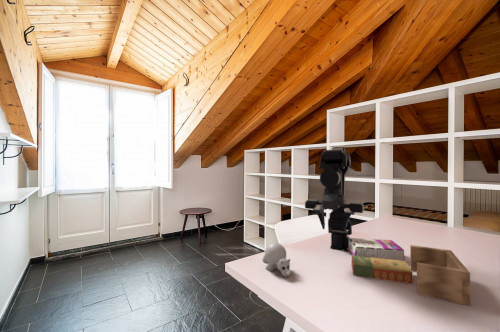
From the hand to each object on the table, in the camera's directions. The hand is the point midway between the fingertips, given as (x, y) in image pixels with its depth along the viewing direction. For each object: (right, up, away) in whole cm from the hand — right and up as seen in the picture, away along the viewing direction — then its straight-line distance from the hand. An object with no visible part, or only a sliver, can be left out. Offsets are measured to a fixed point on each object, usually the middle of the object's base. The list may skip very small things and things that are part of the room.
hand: (333, 230), depth 81 cm
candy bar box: (+27, -10, +7) cm, 29 cm away
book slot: (+24, -12, -14) cm, 30 cm away
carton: (+12, -13, -7) cm, 19 cm away
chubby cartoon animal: (-20, -12, -5) cm, 24 cm away
